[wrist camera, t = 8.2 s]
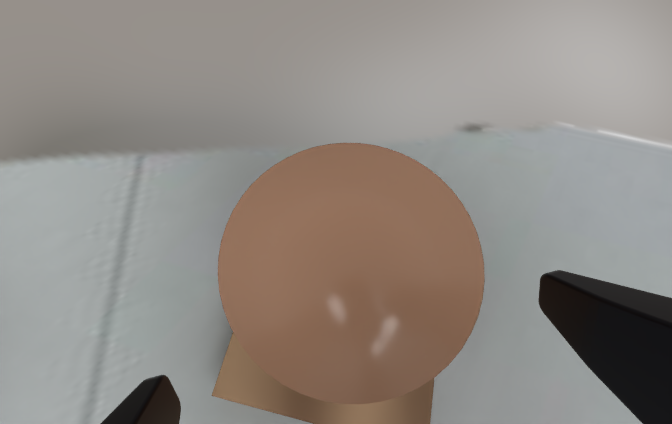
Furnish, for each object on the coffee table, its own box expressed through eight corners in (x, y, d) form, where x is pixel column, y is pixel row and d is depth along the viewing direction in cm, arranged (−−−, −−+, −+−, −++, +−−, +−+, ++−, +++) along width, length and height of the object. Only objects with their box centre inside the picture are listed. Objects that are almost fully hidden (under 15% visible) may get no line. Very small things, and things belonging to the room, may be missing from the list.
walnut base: (439, 248, 21) (448, 240, 19) (419, 445, 17) (428, 455, 15) (279, 213, 22) (275, 203, 20) (221, 392, 18) (210, 396, 16)
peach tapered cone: (407, 300, 18) (526, 222, 7) (353, 391, 16) (396, 482, 5) (328, 246, 19) (321, 107, 8) (270, 325, 17) (159, 284, 6)
